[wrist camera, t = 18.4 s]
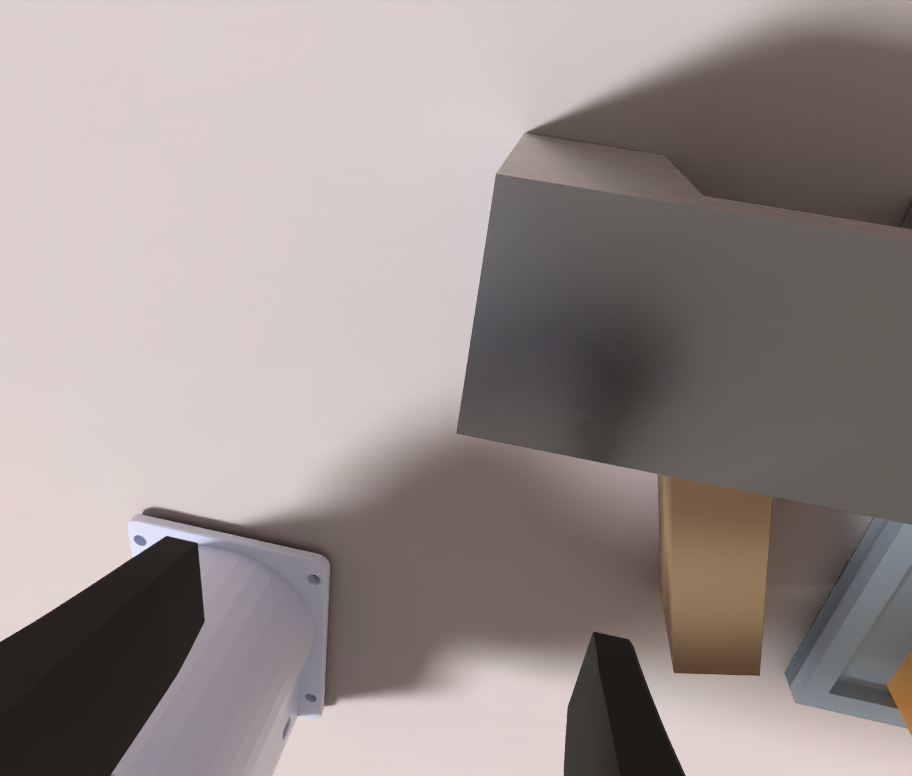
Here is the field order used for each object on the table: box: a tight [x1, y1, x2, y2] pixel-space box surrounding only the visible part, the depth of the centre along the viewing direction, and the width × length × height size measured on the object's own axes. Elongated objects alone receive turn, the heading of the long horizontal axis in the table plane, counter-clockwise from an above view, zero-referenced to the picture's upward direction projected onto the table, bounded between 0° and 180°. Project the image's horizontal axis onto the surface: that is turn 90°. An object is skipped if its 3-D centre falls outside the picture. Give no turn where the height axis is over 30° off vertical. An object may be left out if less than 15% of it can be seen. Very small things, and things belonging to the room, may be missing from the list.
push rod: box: [658, 474, 772, 676], centre depth 18 cm, size 13×2×4 cm, turn 9°
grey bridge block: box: [457, 133, 912, 525], centre depth 14 cm, size 5×13×7 cm, turn 82°
